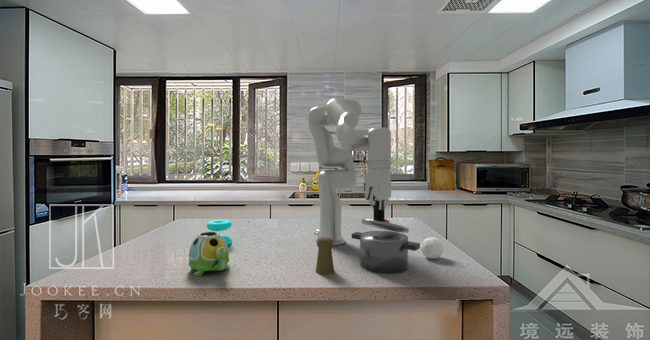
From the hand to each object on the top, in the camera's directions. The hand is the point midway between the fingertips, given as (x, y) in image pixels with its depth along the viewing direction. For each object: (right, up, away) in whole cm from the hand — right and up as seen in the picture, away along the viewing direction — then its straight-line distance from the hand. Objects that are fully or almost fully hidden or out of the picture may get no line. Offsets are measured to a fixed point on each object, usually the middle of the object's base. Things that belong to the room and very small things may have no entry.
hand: (378, 221), depth 101 cm
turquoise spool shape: (-63, -15, +29) cm, 71 cm away
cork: (-18, -16, -2) cm, 24 cm away
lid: (+3, -3, +3) cm, 5 cm away
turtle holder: (-55, -16, -1) cm, 57 cm away
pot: (+2, -16, +3) cm, 16 cm away
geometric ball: (+21, -16, +11) cm, 29 cm away
